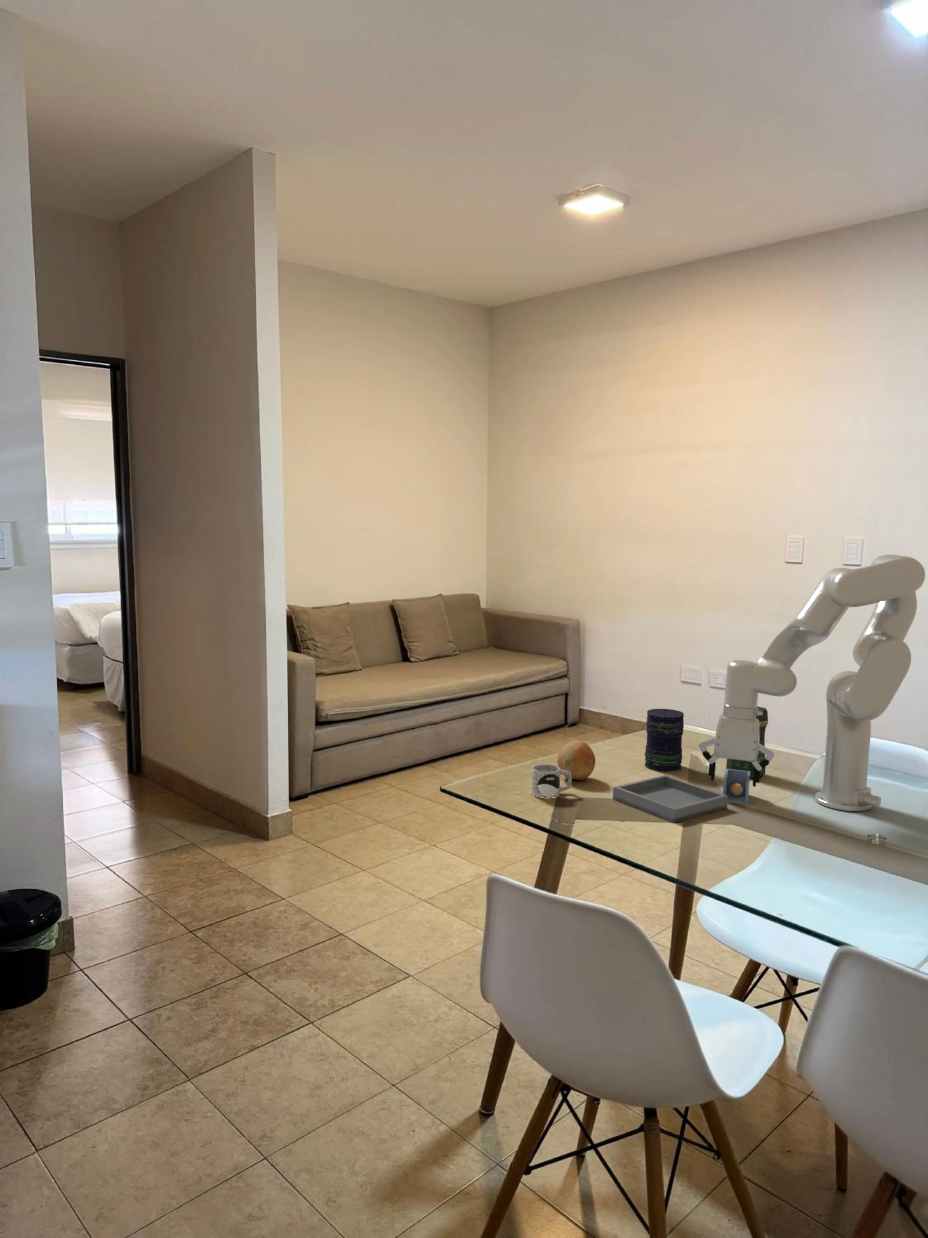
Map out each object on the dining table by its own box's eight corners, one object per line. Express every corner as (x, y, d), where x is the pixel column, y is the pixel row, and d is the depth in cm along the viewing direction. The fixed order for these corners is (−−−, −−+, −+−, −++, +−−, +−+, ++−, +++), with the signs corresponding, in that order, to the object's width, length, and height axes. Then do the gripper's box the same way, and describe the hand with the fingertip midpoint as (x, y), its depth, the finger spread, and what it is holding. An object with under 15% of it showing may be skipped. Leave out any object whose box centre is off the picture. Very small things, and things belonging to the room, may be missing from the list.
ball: (745, 795, 210) (745, 784, 209) (737, 800, 209) (737, 789, 207) (735, 789, 212) (735, 779, 211) (727, 794, 211) (727, 784, 210)
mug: (537, 800, 206) (538, 773, 205) (527, 791, 212) (528, 765, 211) (576, 797, 209) (577, 770, 208) (565, 788, 215) (566, 762, 214)
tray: (726, 808, 202) (727, 796, 202) (674, 822, 192) (674, 809, 192) (664, 786, 218) (665, 775, 217) (612, 799, 207) (613, 787, 207)
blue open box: (724, 792, 214) (726, 768, 214) (748, 795, 213) (750, 771, 212) (722, 802, 207) (723, 777, 206) (747, 805, 205) (749, 780, 204)
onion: (552, 782, 219) (553, 744, 218) (561, 772, 229) (562, 734, 228) (590, 787, 216) (592, 748, 215) (597, 776, 226) (599, 738, 224)
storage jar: (682, 773, 229) (685, 718, 228) (644, 770, 231) (646, 715, 230) (680, 763, 239) (683, 709, 237) (644, 760, 241) (646, 707, 239)
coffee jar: (770, 775, 229) (774, 706, 226) (751, 780, 224) (756, 710, 222) (739, 767, 236) (742, 699, 234) (720, 771, 232) (724, 703, 229)
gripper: (778, 714, 208) (771, 783, 210) (703, 705, 214) (697, 772, 216) (777, 720, 201) (771, 792, 203) (700, 711, 207) (694, 781, 209)
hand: (733, 782), depth 209 cm, fingers open, 9 cm apart
